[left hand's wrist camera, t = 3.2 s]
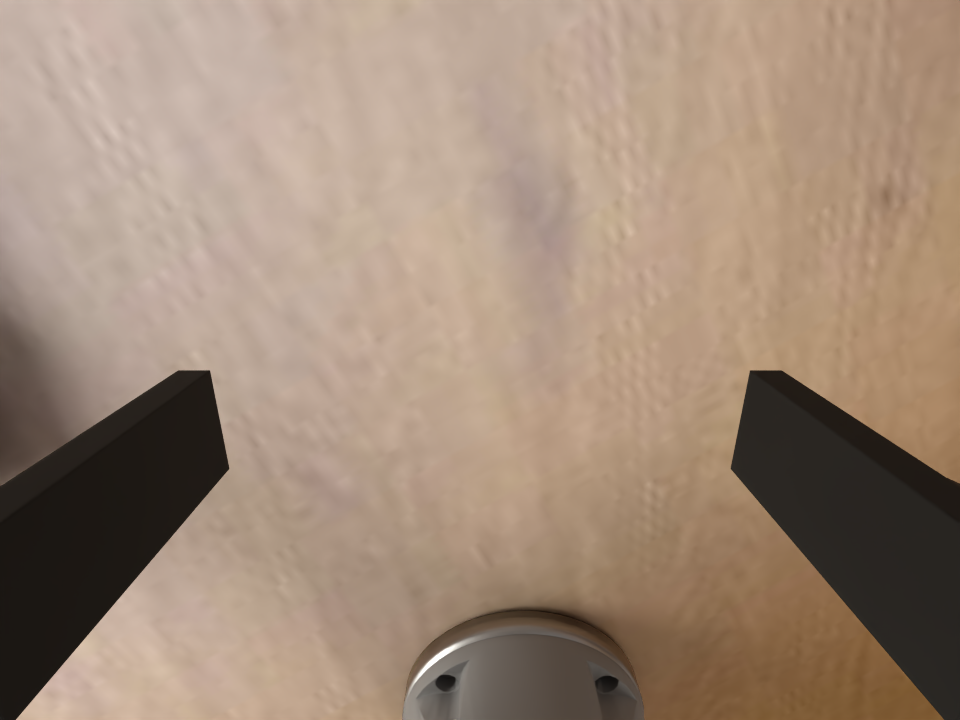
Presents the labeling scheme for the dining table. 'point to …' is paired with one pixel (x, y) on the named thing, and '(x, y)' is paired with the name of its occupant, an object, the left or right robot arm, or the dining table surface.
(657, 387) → the dining table surface
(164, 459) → the left robot arm
